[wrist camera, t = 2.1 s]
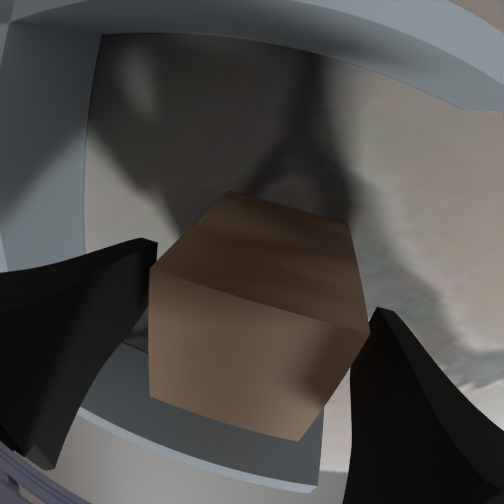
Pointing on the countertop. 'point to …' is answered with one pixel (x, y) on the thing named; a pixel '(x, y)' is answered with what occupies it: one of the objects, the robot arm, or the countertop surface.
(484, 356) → the countertop surface
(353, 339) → the block
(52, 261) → the u-shaped bracket
